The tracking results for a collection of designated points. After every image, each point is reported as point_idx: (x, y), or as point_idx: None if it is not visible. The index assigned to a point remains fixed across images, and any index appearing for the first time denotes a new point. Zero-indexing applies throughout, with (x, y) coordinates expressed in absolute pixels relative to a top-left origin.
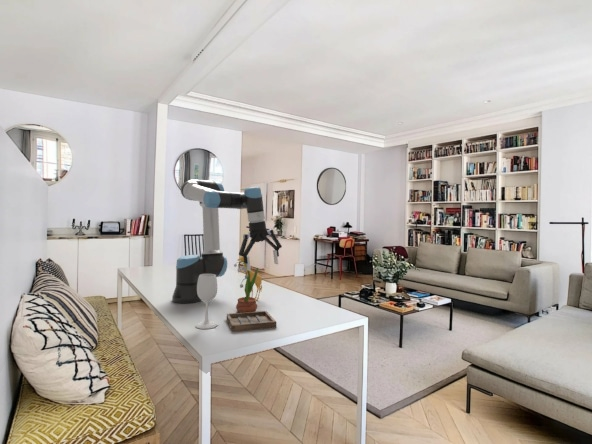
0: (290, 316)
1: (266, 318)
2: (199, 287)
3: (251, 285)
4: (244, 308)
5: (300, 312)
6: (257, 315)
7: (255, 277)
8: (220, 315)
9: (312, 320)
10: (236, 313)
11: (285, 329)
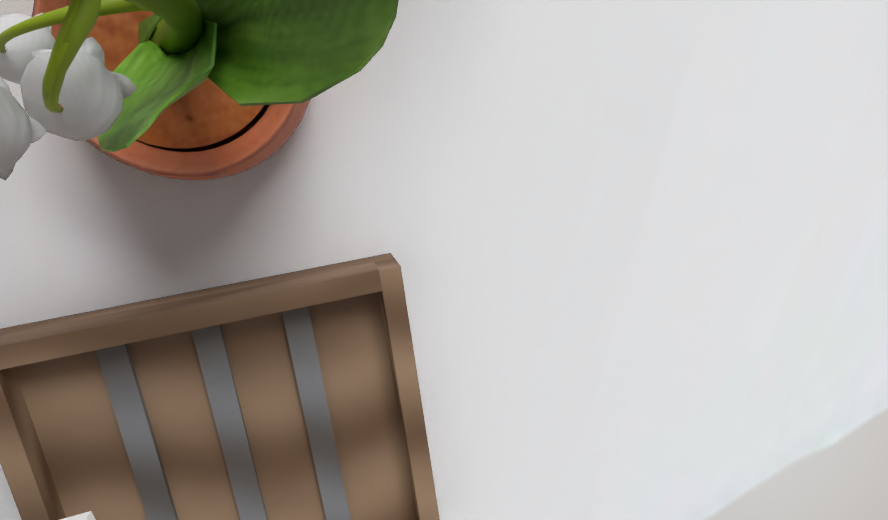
0: (589, 268)
1: (381, 383)
2: None
3: None
4: (162, 175)
5: (695, 163)
6: (305, 325)
7: (308, 37)
8: None
9: (712, 369)
10: (79, 346)
11: None
